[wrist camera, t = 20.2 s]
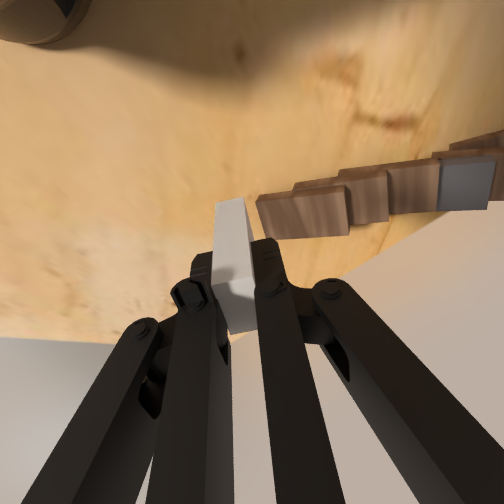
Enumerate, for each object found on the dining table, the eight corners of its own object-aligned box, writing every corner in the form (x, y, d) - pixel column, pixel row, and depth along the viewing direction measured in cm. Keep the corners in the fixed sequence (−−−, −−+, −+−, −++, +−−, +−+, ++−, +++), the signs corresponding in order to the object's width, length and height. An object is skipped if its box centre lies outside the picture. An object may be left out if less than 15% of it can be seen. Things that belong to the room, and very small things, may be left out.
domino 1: (266, 240, 43) (349, 235, 38) (255, 202, 39) (343, 192, 35) (270, 232, 44) (349, 226, 40) (259, 195, 41) (344, 184, 37)
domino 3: (342, 217, 42) (436, 211, 37) (337, 176, 38) (439, 163, 34) (343, 210, 43) (433, 203, 39) (339, 169, 40) (437, 157, 36)
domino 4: (452, 191, 41) (538, 169, 40) (457, 147, 38) (551, 121, 37) (443, 186, 43) (526, 165, 42) (447, 143, 39) (537, 119, 38)
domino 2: (301, 229, 42) (389, 221, 38) (292, 189, 39) (386, 176, 35) (304, 221, 44) (388, 213, 39) (295, 182, 40) (386, 169, 36)
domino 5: (428, 202, 41) (534, 200, 36) (433, 158, 38) (551, 149, 33) (427, 195, 42) (529, 192, 38) (432, 152, 39) (545, 143, 34)
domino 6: (386, 213, 42) (486, 209, 37) (386, 171, 38) (495, 161, 34) (387, 205, 43) (483, 201, 38) (387, 164, 40) (492, 154, 35)
